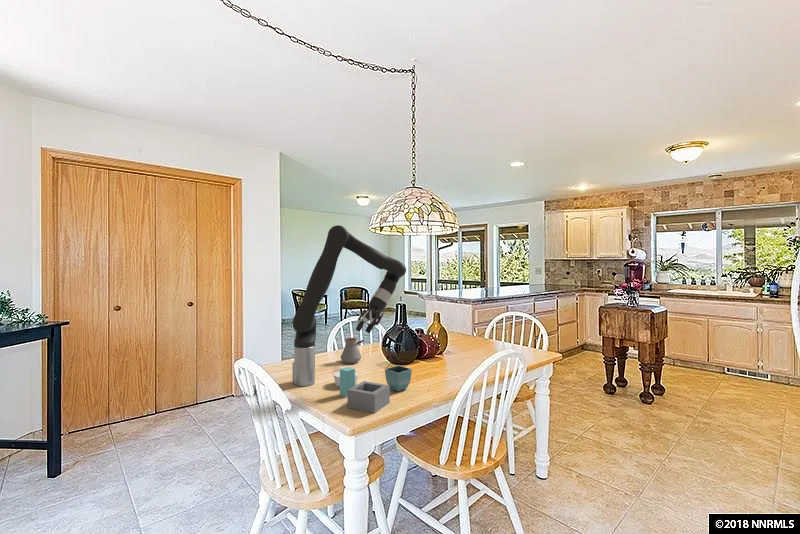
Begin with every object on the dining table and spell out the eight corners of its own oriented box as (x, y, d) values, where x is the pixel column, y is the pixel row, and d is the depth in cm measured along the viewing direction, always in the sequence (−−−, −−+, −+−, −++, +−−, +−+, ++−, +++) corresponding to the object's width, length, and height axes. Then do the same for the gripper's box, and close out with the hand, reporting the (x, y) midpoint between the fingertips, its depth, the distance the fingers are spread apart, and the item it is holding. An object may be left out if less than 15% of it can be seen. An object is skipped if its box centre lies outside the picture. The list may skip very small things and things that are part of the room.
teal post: (339, 394, 165) (339, 368, 165) (348, 392, 168) (348, 366, 168) (346, 397, 162) (346, 371, 161) (354, 394, 165) (354, 369, 164)
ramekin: (334, 389, 171) (334, 377, 171) (332, 382, 182) (332, 370, 182) (360, 387, 174) (360, 376, 174) (356, 380, 185) (356, 369, 185)
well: (347, 407, 150) (347, 389, 150) (363, 397, 161) (363, 381, 161) (374, 413, 145) (374, 394, 145) (389, 402, 156) (389, 385, 156)
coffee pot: (337, 361, 219) (337, 334, 218) (355, 358, 225) (355, 332, 224) (353, 370, 200) (353, 341, 200) (373, 367, 207) (373, 339, 206)
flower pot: (384, 389, 172) (384, 368, 172) (398, 384, 178) (398, 365, 178) (397, 394, 166) (398, 373, 166) (412, 389, 172) (412, 369, 172)
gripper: (366, 295, 181) (348, 325, 175) (382, 295, 169) (364, 328, 163) (377, 304, 184) (360, 334, 178) (394, 305, 172) (376, 337, 166)
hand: (362, 331), depth 170 cm, fingers open, 8 cm apart
